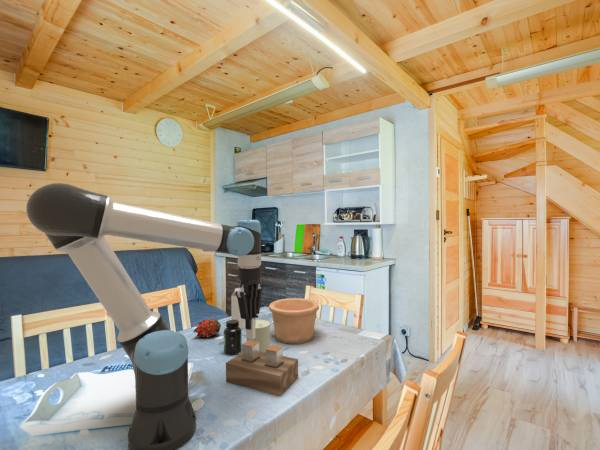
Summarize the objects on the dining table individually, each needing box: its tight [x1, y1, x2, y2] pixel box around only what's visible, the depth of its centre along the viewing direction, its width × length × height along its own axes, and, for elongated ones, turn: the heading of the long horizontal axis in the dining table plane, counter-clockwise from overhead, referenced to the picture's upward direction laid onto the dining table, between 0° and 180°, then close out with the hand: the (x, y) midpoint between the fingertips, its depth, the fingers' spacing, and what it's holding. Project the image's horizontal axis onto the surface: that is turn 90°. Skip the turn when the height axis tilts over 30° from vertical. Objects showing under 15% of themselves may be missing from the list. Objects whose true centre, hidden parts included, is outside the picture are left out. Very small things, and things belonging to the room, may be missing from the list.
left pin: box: [241, 340, 259, 363], centre depth 103 cm, size 4×4×6 cm
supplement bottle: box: [223, 319, 243, 356], centre depth 122 cm, size 7×7×12 cm
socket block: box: [225, 351, 299, 397], centre depth 101 cm, size 12×20×6 cm, turn 64°
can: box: [246, 319, 271, 352], centre depth 121 cm, size 9×9×12 cm
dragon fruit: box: [193, 317, 222, 339], centre depth 138 cm, size 8×8×12 cm
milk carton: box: [230, 287, 246, 330], centre depth 151 cm, size 7×7×19 cm
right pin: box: [265, 344, 284, 368], centre depth 99 cm, size 4×4×6 cm
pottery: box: [268, 297, 320, 345], centre depth 137 cm, size 22×22×14 cm
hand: (250, 337), depth 103 cm, fingers closed
